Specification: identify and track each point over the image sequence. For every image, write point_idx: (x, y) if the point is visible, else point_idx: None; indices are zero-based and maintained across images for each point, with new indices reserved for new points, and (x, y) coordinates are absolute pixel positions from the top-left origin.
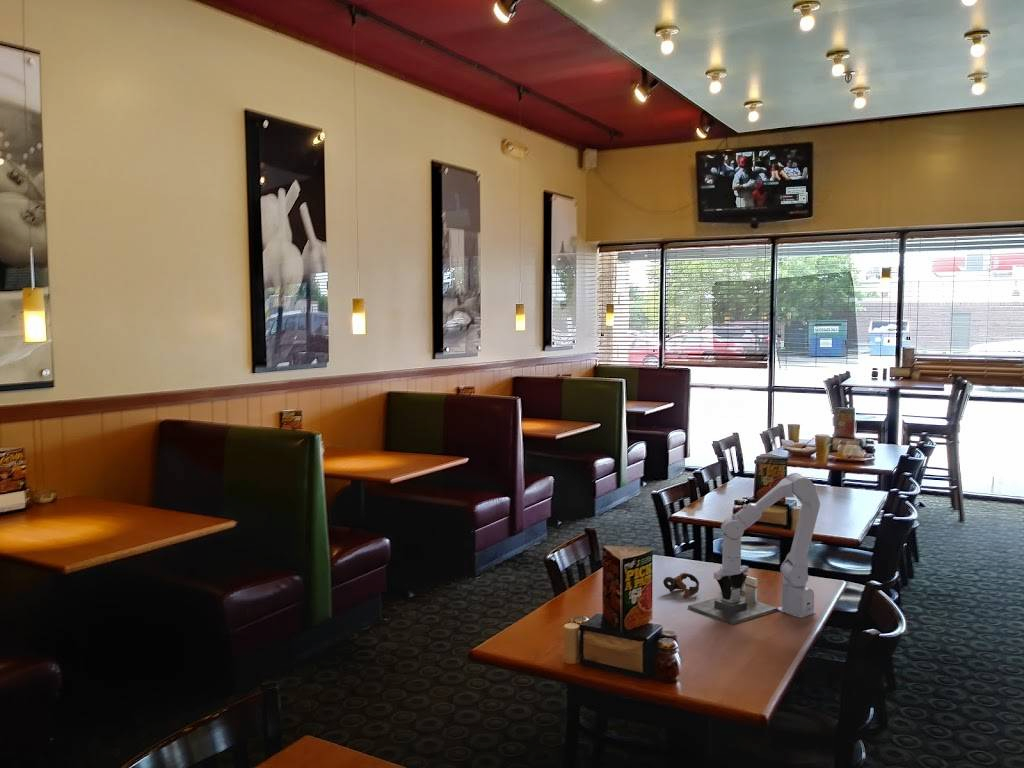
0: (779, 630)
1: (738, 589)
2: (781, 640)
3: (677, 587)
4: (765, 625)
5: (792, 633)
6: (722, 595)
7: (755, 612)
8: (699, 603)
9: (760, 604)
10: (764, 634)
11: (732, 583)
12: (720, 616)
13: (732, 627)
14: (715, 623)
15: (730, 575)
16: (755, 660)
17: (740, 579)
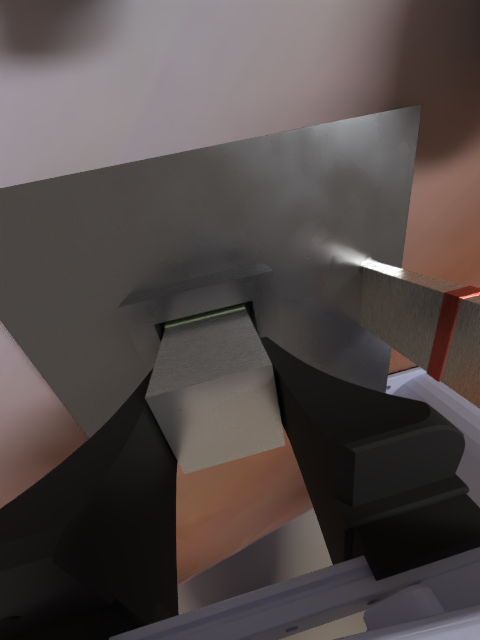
0: (242, 501)
1: (264, 442)
2: (197, 542)
3: None
4: (232, 472)
5: (258, 516)
6: (146, 377)
7: None
8: (42, 200)
9: (368, 343)
10: (179, 517)
11: (286, 394)
12: (87, 421)
13: None
14: (49, 436)
15: (209, 630)
16: None
17: (322, 532)
